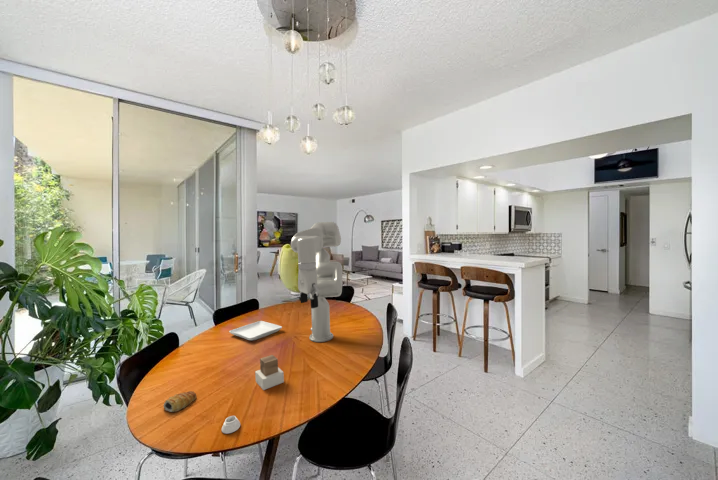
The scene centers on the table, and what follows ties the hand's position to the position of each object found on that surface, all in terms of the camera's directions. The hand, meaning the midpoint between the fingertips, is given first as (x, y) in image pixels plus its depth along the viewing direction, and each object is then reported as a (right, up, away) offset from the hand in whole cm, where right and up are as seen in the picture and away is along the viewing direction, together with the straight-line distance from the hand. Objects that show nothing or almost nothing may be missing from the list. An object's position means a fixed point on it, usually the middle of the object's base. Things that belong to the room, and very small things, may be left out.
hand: (309, 304), depth 124 cm
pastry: (-39, -28, -27) cm, 56 cm away
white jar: (-16, -28, -39) cm, 51 cm away
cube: (-13, -22, -15) cm, 30 cm away
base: (-13, -26, -14) cm, 33 cm away
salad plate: (-37, -25, +37) cm, 58 cm away
